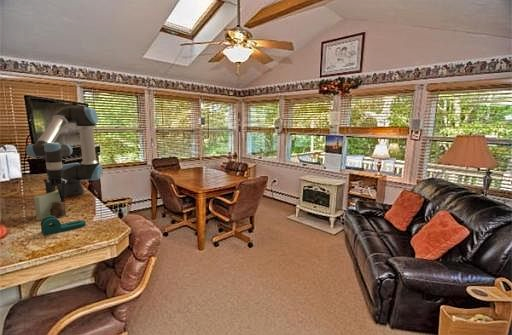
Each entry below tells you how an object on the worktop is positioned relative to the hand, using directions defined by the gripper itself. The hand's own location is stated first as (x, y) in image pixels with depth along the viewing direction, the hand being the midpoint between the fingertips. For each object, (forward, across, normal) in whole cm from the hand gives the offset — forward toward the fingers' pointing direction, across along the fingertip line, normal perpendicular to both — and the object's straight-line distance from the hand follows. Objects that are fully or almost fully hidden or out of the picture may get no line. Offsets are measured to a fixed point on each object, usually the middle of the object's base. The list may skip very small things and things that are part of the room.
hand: (58, 207), depth 158 cm
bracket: (+4, +24, -22) cm, 32 cm away
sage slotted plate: (+3, 0, -5) cm, 6 cm away
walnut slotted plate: (+3, 0, -5) cm, 6 cm away
